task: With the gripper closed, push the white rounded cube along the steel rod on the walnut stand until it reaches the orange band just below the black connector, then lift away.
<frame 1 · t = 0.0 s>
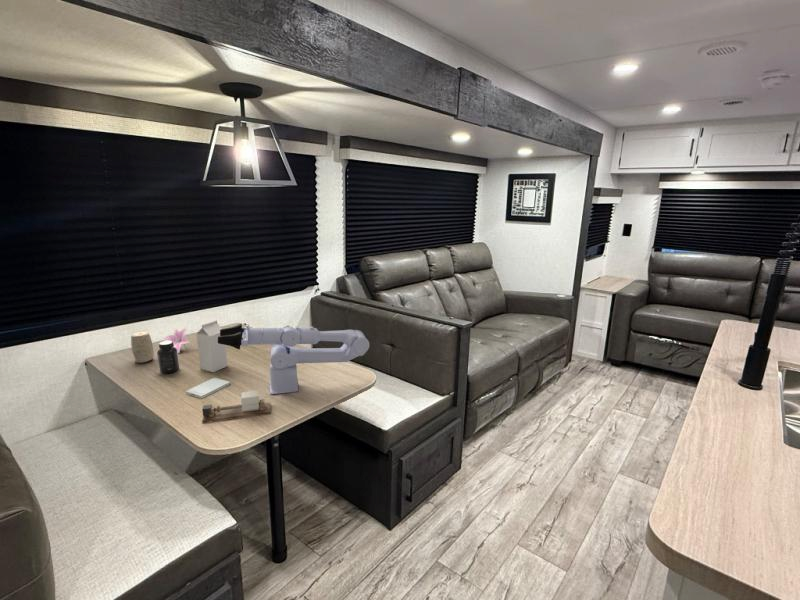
hand: (218, 336, 139), 22 cm above the table, tool horizontal, fingers open, 7 cm apart
supplement bottle: (169, 371, 162), on the table
lily: (178, 350, 184), on the table
milk carton: (214, 368, 166), on the table
white rounded cube: (250, 401, 133), point 4 cm above the table, slide at 0.0 cm
cord rail: (237, 413, 133), on the table
hard drive: (208, 390, 149), on the table
cream barrel-shaped cylinder: (144, 361, 172), on the table
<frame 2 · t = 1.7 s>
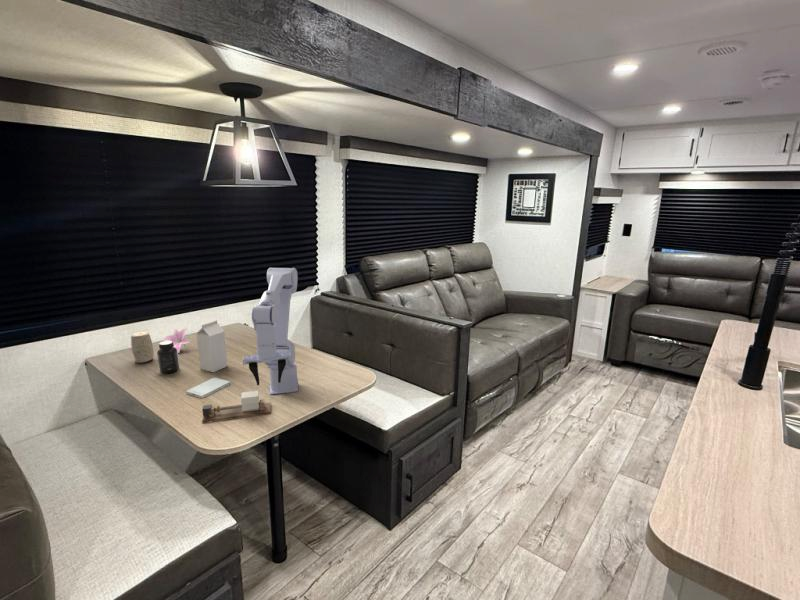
hand: (268, 382, 133), 9 cm above the table, tool pointing down, fingers open, 6 cm apart
nothing on the table moved.
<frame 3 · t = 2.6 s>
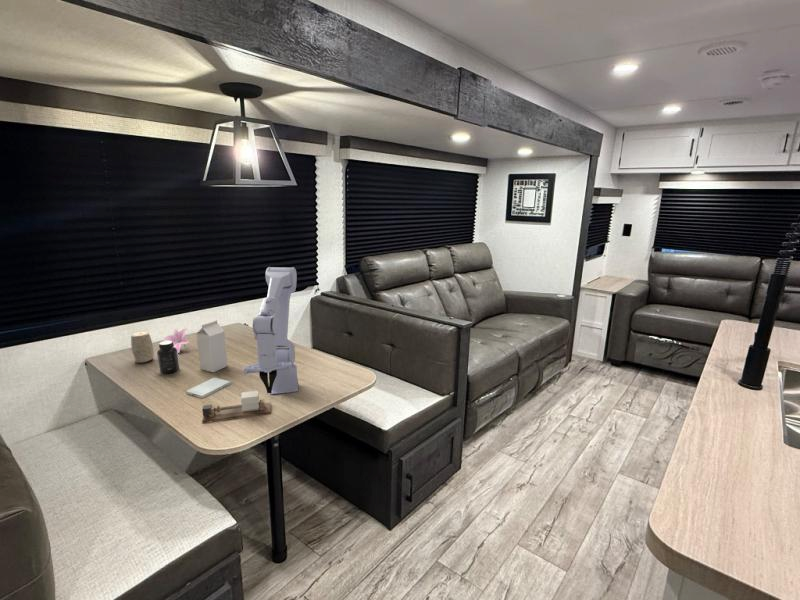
hand: (269, 391, 134), 6 cm above the table, tool pointing down, fingers closed
nothing on the table moved.
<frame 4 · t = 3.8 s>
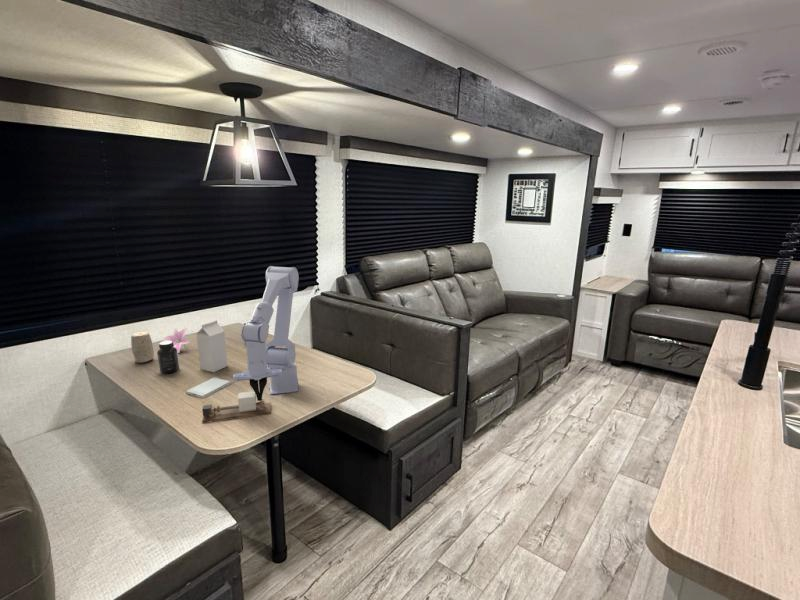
hand: (259, 399, 134), 4 cm above the table, tool pointing down, fingers closed
white rounded cube: (247, 401, 133), point 4 cm above the table, slide at 0.9 cm, touching gripper
everything else where it was.
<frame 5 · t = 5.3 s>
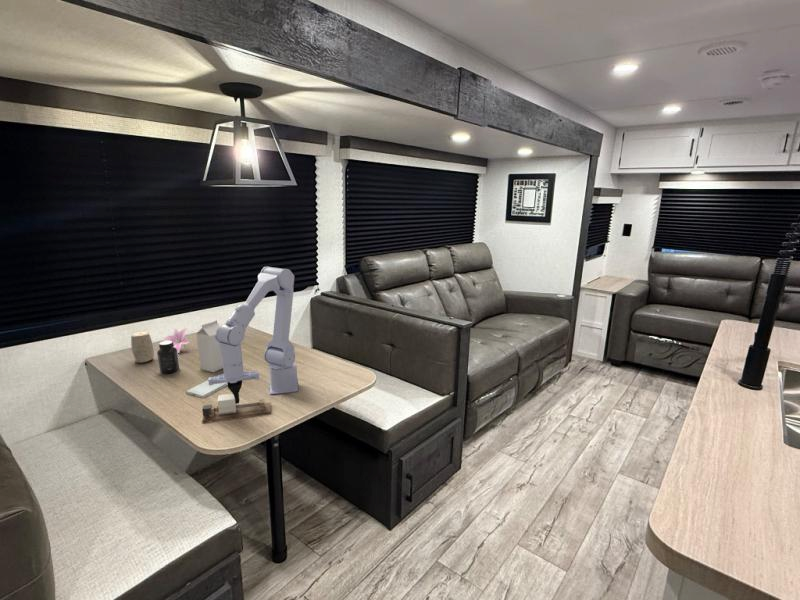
hand: (236, 402, 132), 4 cm above the table, tool pointing down, fingers closed, pressing on white rounded cube
white rounded cube: (227, 404, 131), point 4 cm above the table, slide at 6.8 cm, touching cord rail, gripper
everything else where it was.
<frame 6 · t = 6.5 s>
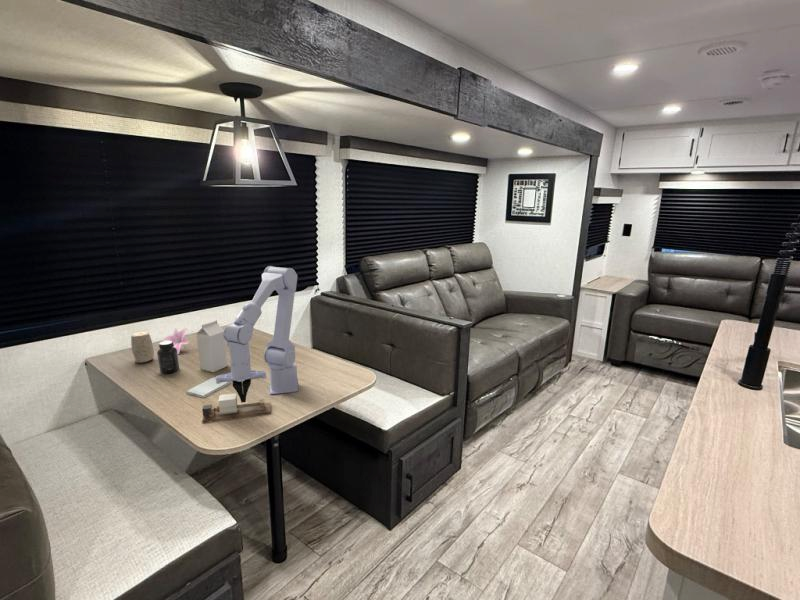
hand: (243, 400, 132), 4 cm above the table, tool pointing down, fingers closed
white rounded cube: (228, 404, 131), point 4 cm above the table, slide at 6.6 cm
everything else where it was.
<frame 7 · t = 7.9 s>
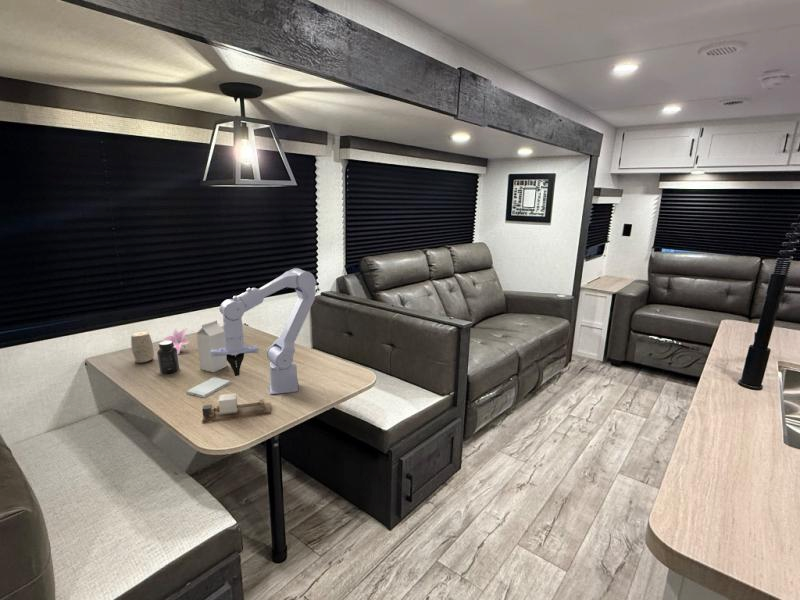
hand: (237, 374, 139), 9 cm above the table, tool pointing down, fingers closed
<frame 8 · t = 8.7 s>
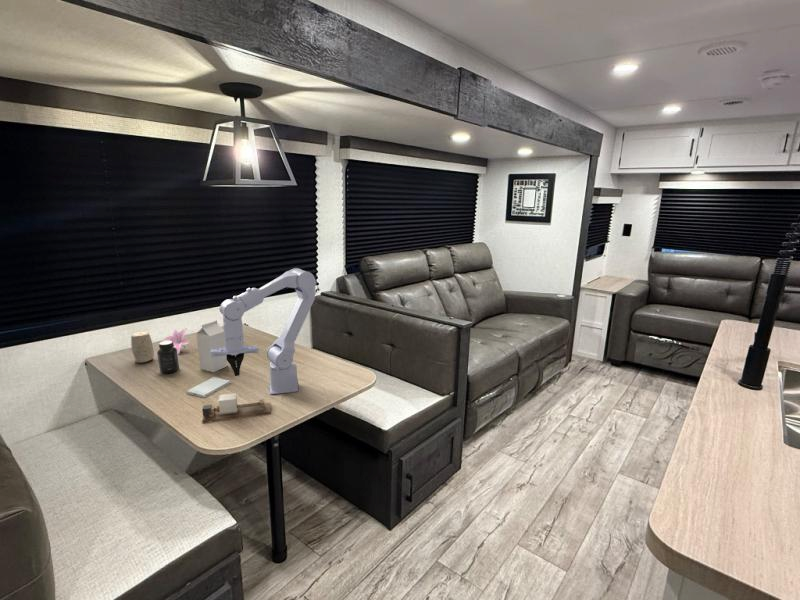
hand: (237, 374, 139), 9 cm above the table, tool pointing down, fingers closed
at the end: white rounded cube slide at 6.6 cm; hard drive moved 1.0 cm from its start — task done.
